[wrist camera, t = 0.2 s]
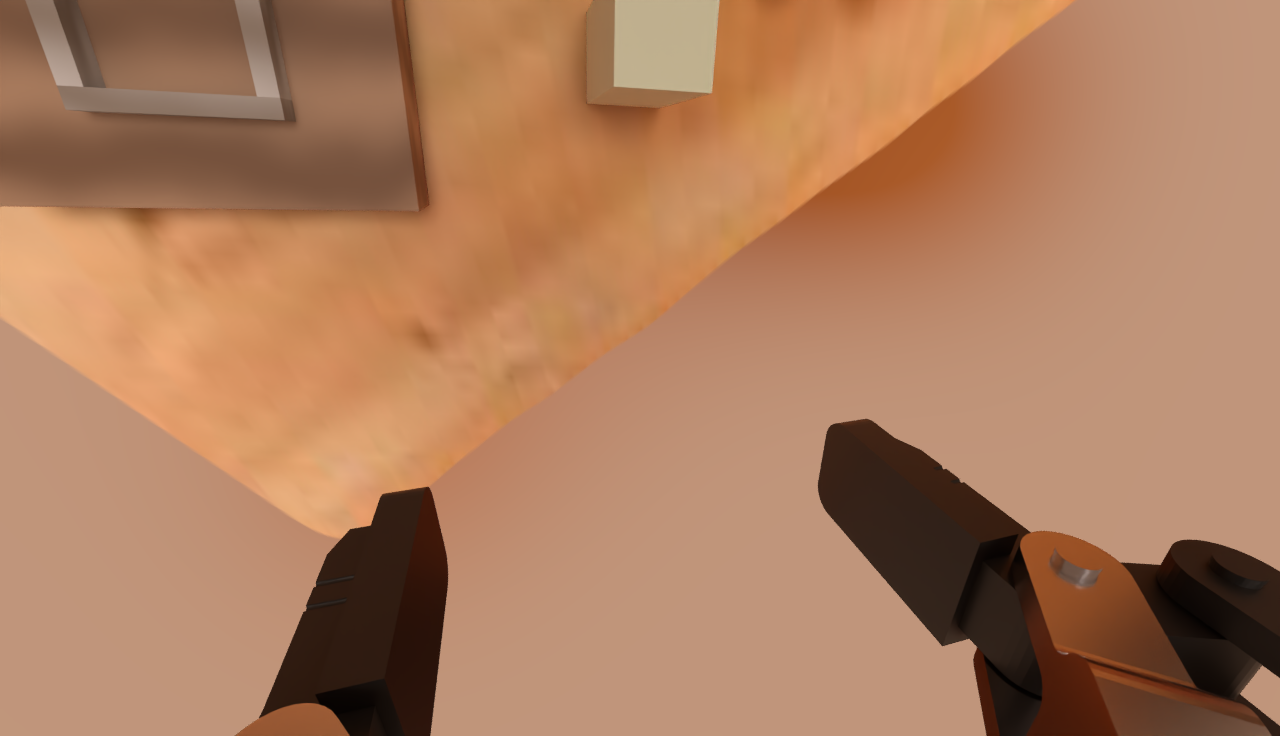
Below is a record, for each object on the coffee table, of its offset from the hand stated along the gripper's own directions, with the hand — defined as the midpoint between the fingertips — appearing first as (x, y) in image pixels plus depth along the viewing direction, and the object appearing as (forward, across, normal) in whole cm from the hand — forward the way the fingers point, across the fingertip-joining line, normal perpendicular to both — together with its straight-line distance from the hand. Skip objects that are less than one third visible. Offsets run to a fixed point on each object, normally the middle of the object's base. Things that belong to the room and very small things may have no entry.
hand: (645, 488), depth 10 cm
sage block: (+29, -6, -11) cm, 32 cm away
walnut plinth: (+30, +17, -12) cm, 36 cm away
